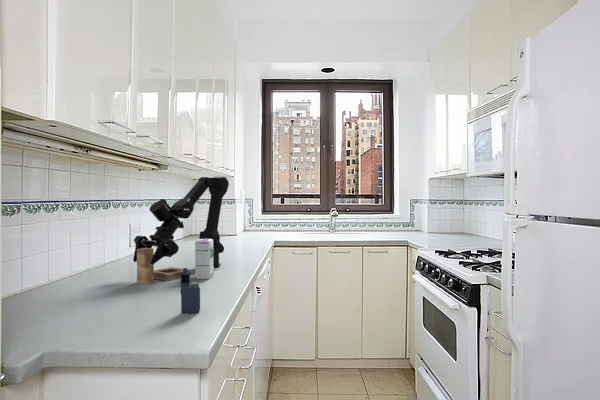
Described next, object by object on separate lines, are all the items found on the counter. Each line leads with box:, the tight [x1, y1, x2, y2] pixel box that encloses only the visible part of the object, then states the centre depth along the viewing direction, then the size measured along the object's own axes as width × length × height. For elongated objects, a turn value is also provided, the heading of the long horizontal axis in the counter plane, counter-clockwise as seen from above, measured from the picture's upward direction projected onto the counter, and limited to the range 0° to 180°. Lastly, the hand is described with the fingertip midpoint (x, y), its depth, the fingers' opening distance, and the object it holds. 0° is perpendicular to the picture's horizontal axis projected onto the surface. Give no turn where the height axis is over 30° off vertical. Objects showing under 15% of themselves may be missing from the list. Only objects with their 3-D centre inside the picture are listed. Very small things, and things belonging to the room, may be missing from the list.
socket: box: [154, 266, 191, 281], centre depth 154 cm, size 11×11×2 cm
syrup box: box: [194, 238, 215, 280], centre depth 152 cm, size 6×6×14 cm
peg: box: [136, 248, 155, 285], centre depth 144 cm, size 4×4×12 cm
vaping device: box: [179, 267, 201, 315], centre depth 108 cm, size 3×5×12 cm, turn 88°
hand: (142, 262), depth 143 cm, fingers open, 9 cm apart
